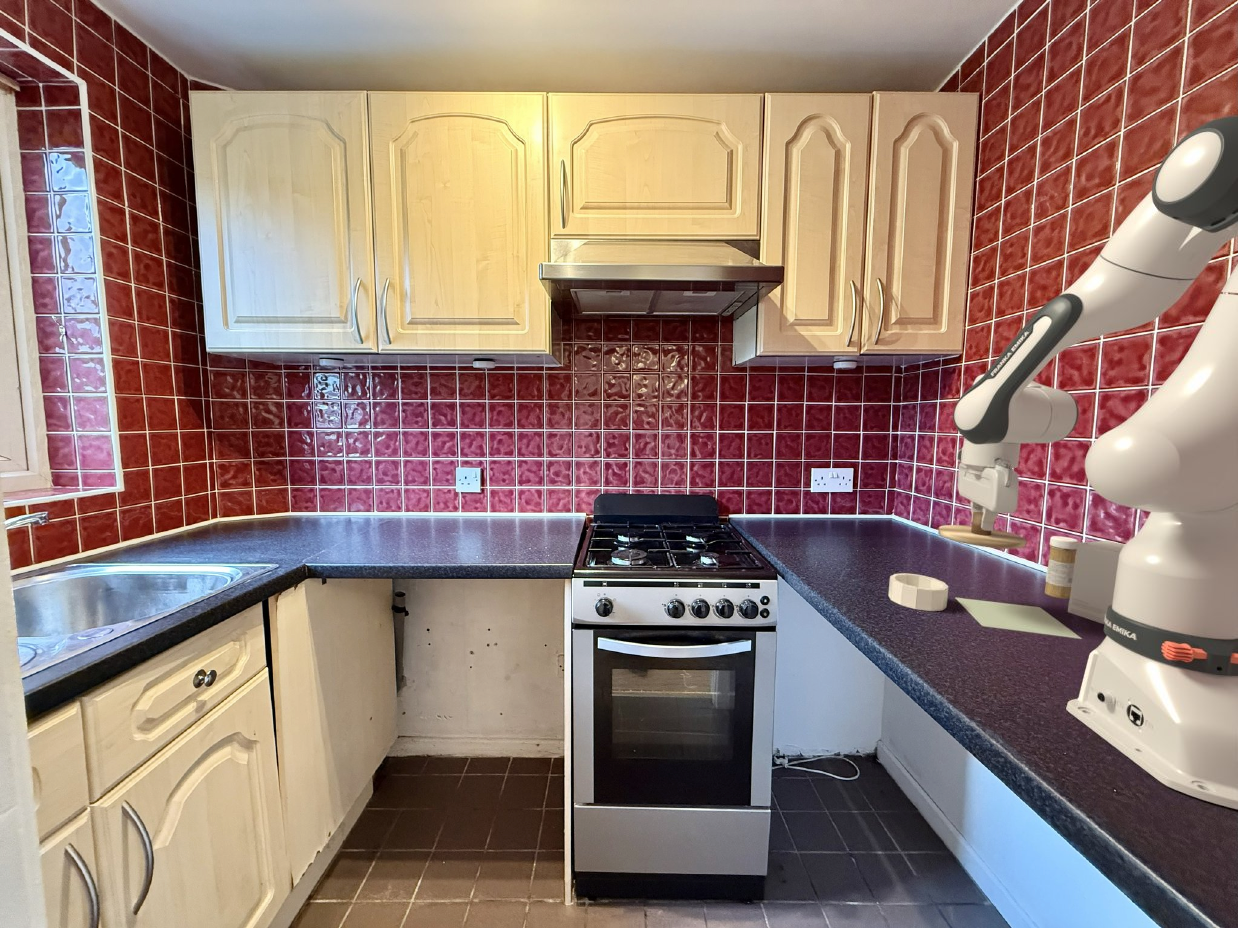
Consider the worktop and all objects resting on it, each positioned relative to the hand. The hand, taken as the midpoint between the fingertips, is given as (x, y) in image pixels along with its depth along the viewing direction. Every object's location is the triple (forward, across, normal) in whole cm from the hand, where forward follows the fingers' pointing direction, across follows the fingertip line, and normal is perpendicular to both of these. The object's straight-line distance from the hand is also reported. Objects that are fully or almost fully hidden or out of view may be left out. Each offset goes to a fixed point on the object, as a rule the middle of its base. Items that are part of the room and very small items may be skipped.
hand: (981, 527), depth 99 cm
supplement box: (+18, +5, -24) cm, 30 cm away
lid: (+2, 0, 0) cm, 2 cm away
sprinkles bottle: (+18, +17, -21) cm, 32 cm away
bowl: (+18, 0, +10) cm, 20 cm away
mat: (+17, -1, -6) cm, 19 cm away
